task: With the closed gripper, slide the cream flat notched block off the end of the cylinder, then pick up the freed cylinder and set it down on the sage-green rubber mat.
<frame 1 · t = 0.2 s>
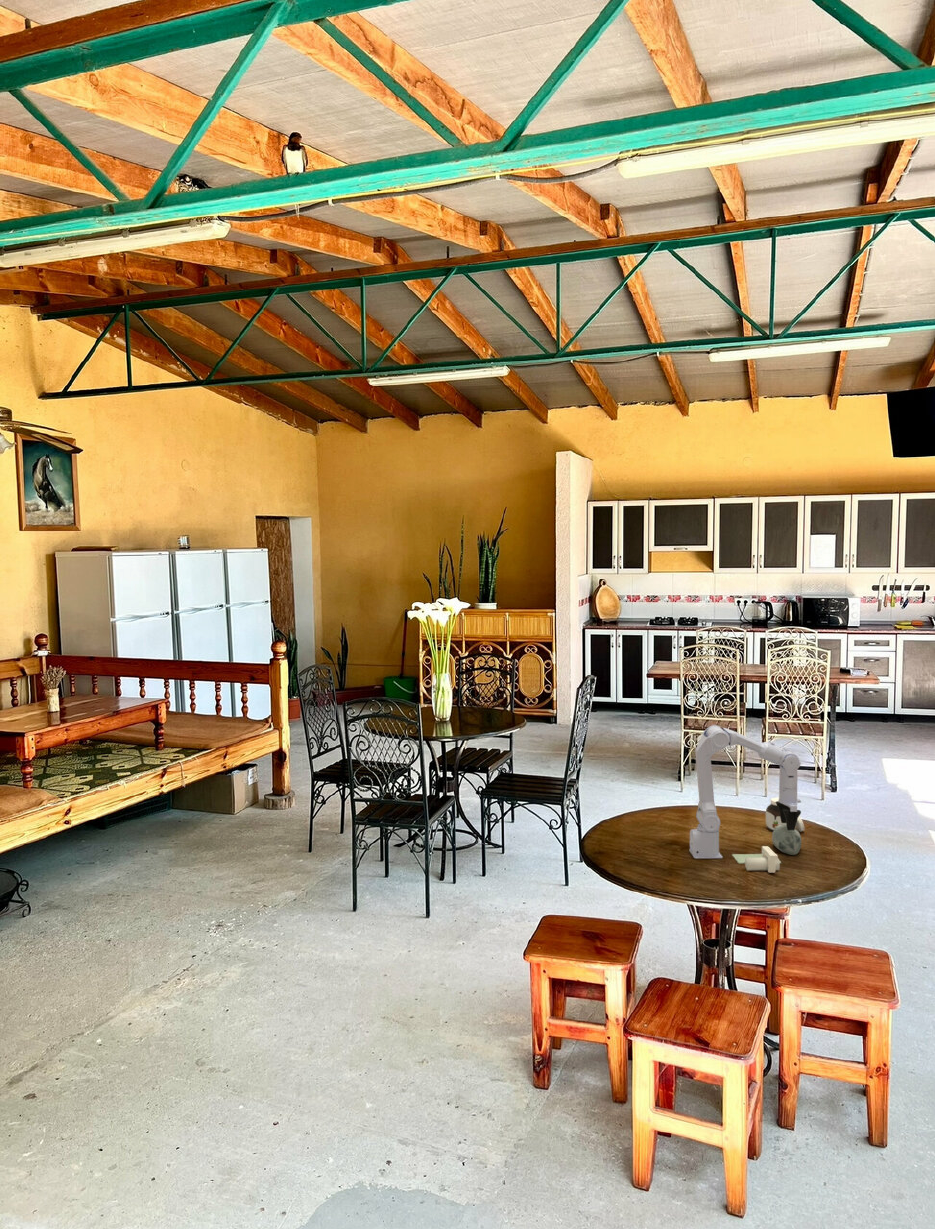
hand: (787, 826, 294), 10 cm above the table, fingers open, 7 cm apart
cream flat notched block: (769, 860, 281), point 3 cm above the table, slide at 0.0 cm
mottled grey-green ovoid: (786, 851, 300), on the table
mat: (756, 859, 292), on the table
spread jar: (785, 831, 321), on the table
cylinder: (762, 870, 282), on the table
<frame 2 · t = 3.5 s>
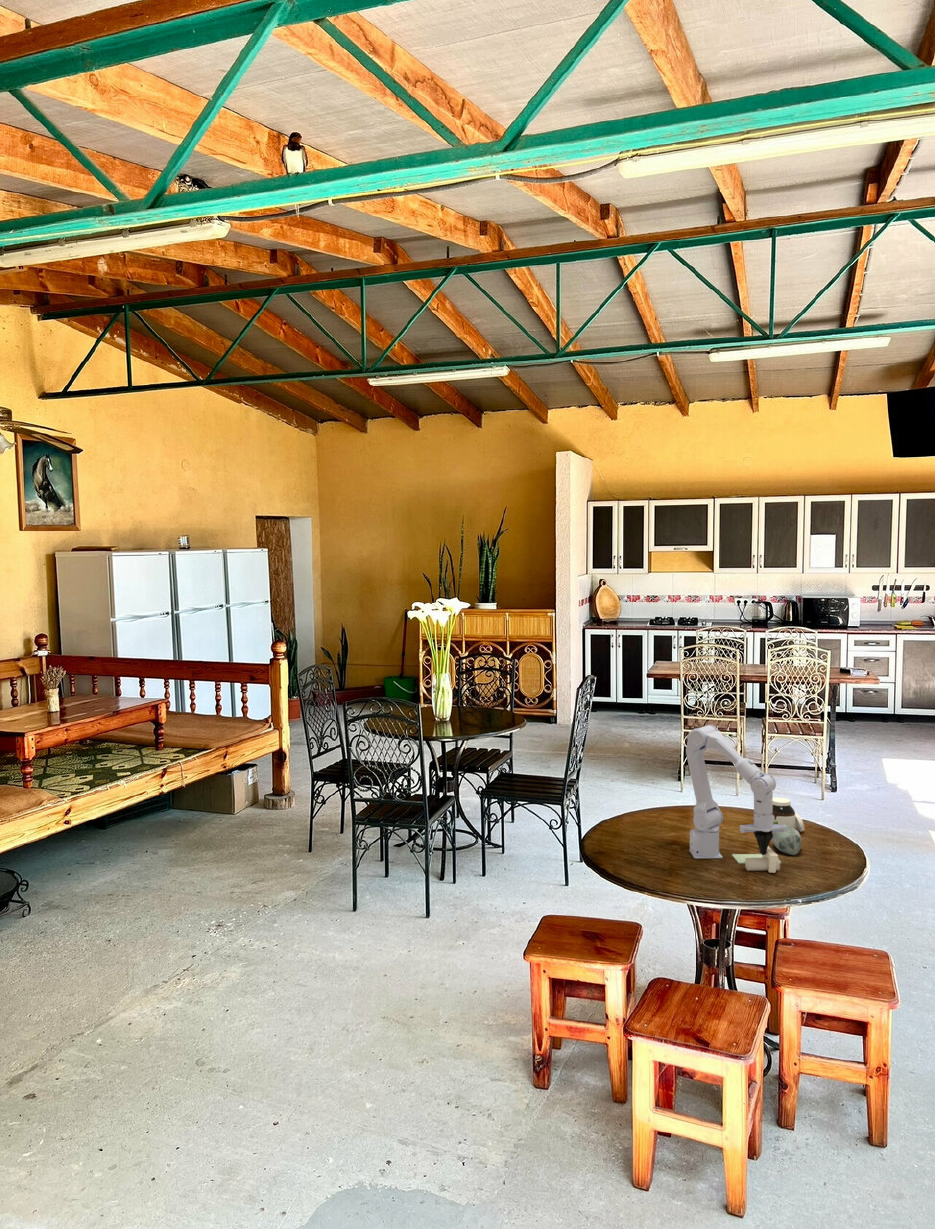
hand: (762, 853, 282), 5 cm above the table, fingers closed
cream flat notched block: (769, 860, 281), point 3 cm above the table, slide at 0.1 cm, touching gripper
everything else where it was.
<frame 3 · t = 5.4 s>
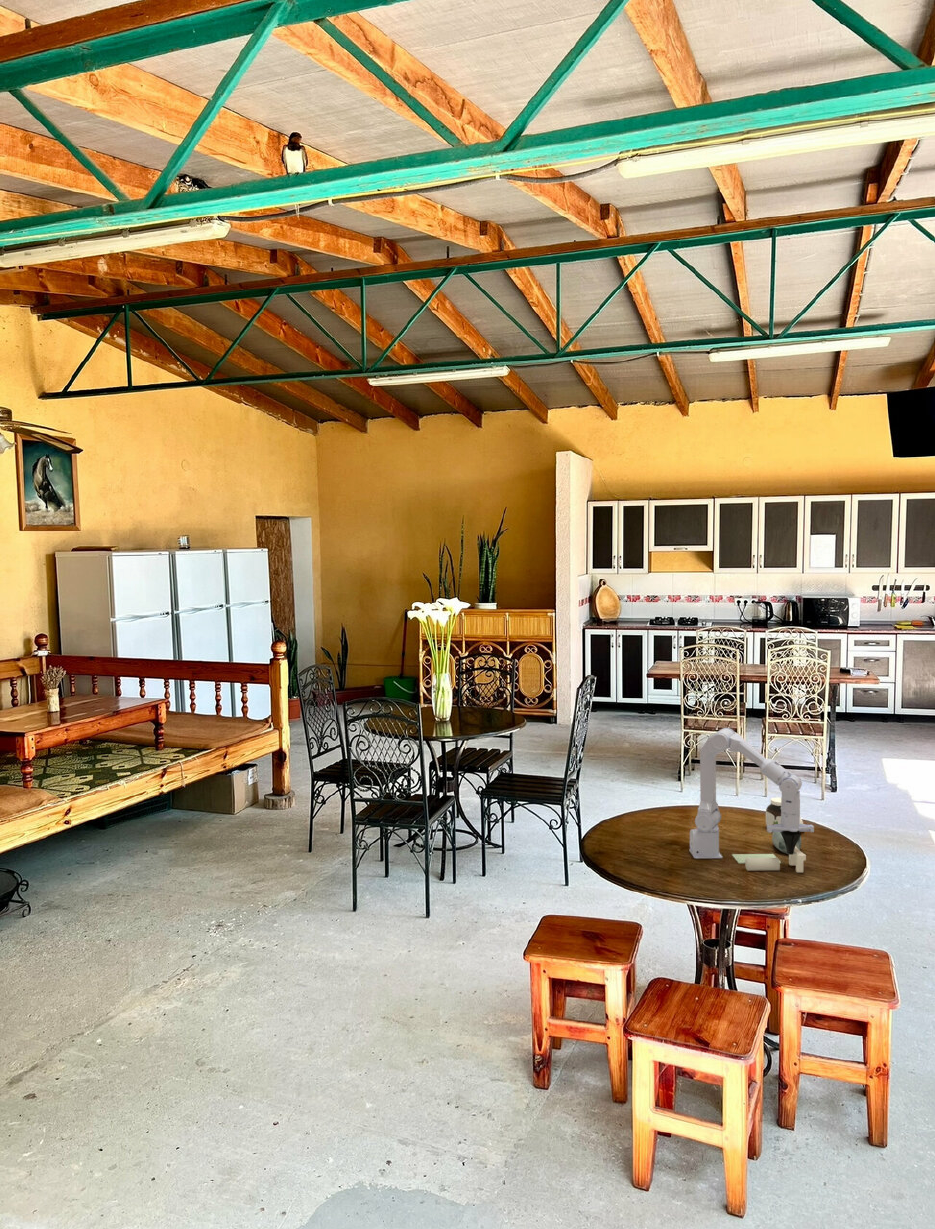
hand: (790, 853, 282), 5 cm above the table, fingers closed
cream flat notched block: (797, 859, 281), point 3 cm above the table, slide at 8.9 cm, touching gripper
everything else where it was.
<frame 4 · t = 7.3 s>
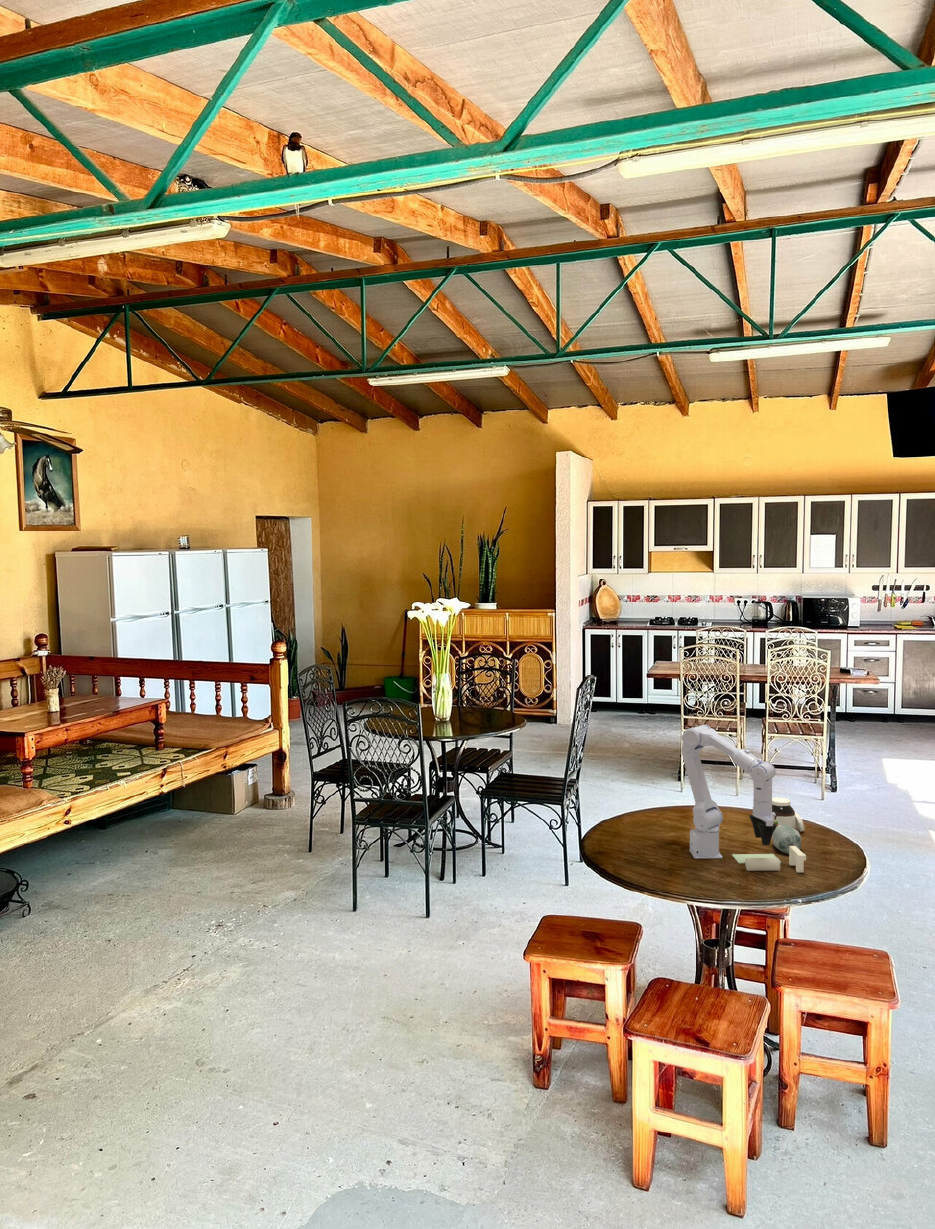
hand: (762, 841, 282), 9 cm above the table, fingers open, 7 cm apart
cream flat notched block: (797, 859, 281), point 3 cm above the table, slide at 9.0 cm
everything else where it was.
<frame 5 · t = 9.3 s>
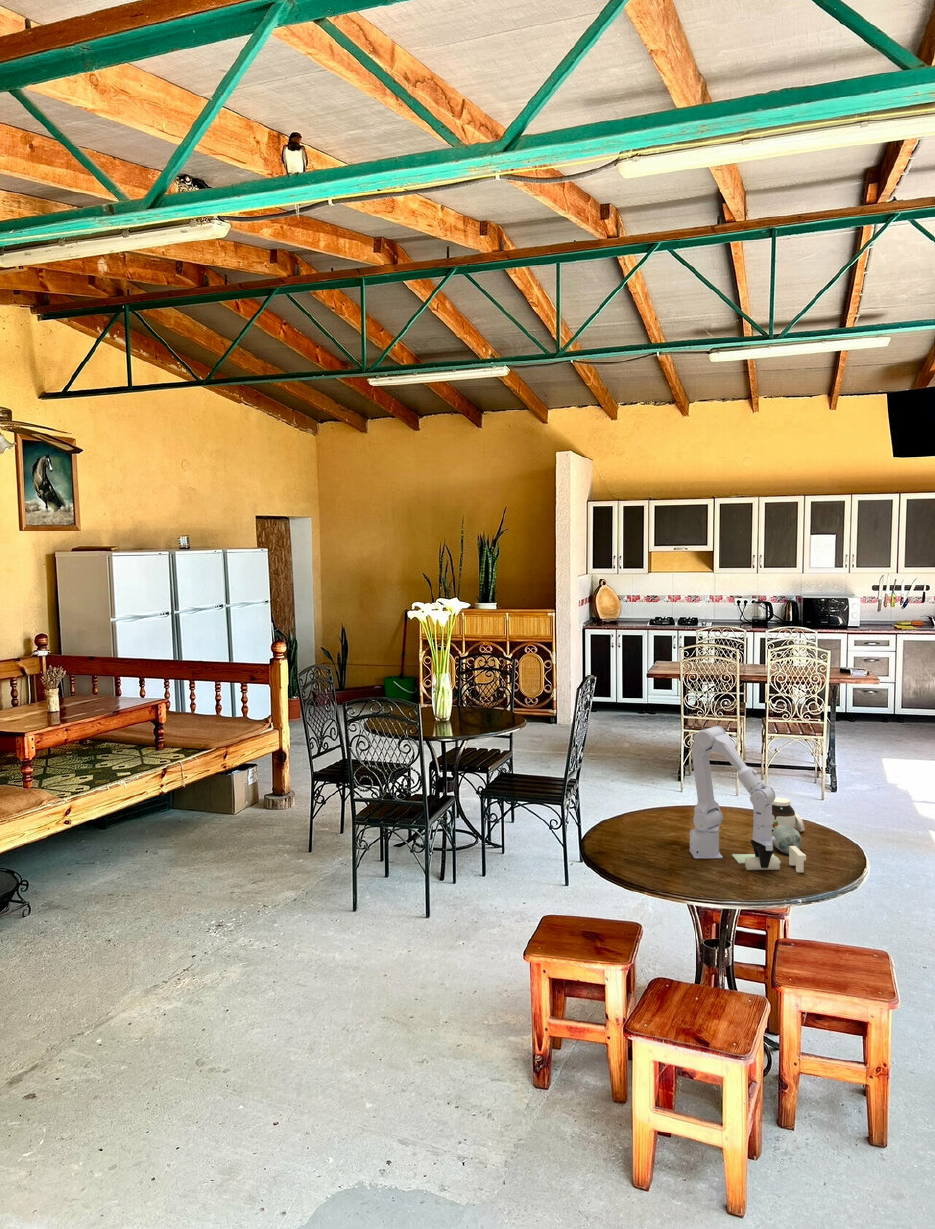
hand: (762, 865, 282), 1 cm above the table, fingers closed on cylinder, 4 cm apart
cylinder: (762, 869, 282), on the table, touching gripper
everything else where it was.
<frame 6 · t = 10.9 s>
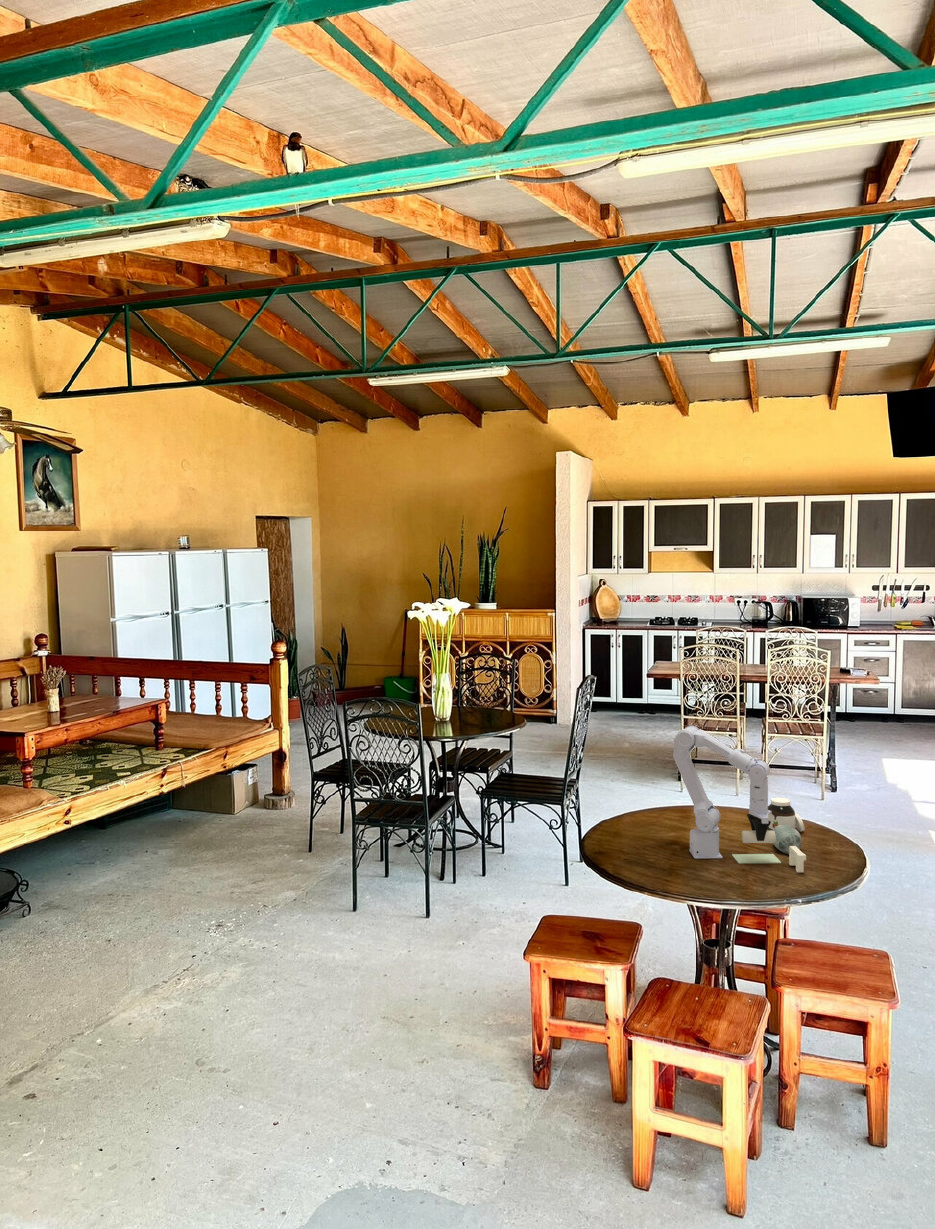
hand: (758, 838, 288), 8 cm above the table, fingers closed on cylinder, 4 cm apart
cylinder: (758, 842, 288), point 7 cm above the table, touching gripper
everything else where it was.
when the fingers open (3 cm above the table, at t = 12.7 s): cylinder drops 1 cm, resting on mat.
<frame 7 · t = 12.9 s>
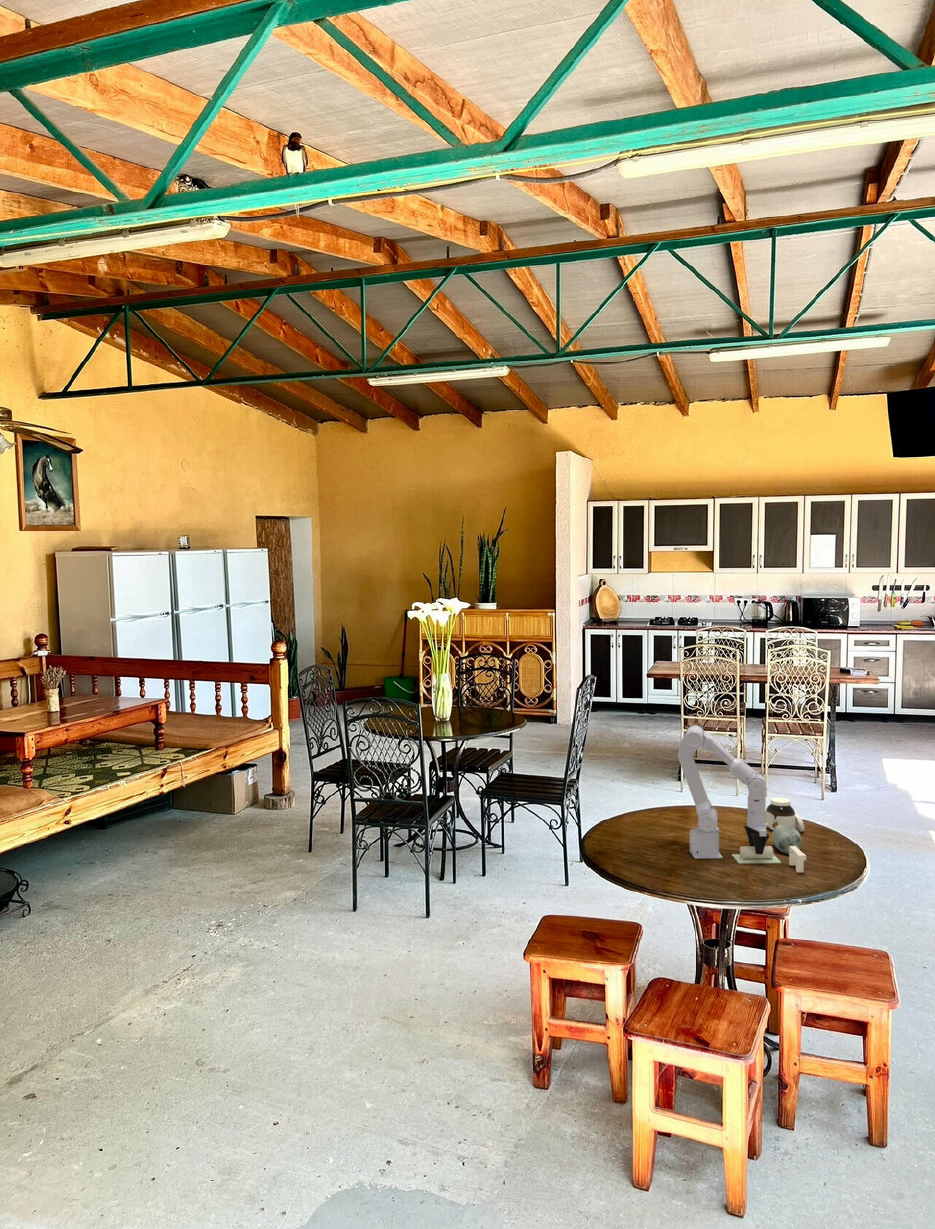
hand: (756, 850, 292), 3 cm above the table, fingers open, 6 cm apart
cylinder: (756, 858, 292), resting on mat
everything else where it was.
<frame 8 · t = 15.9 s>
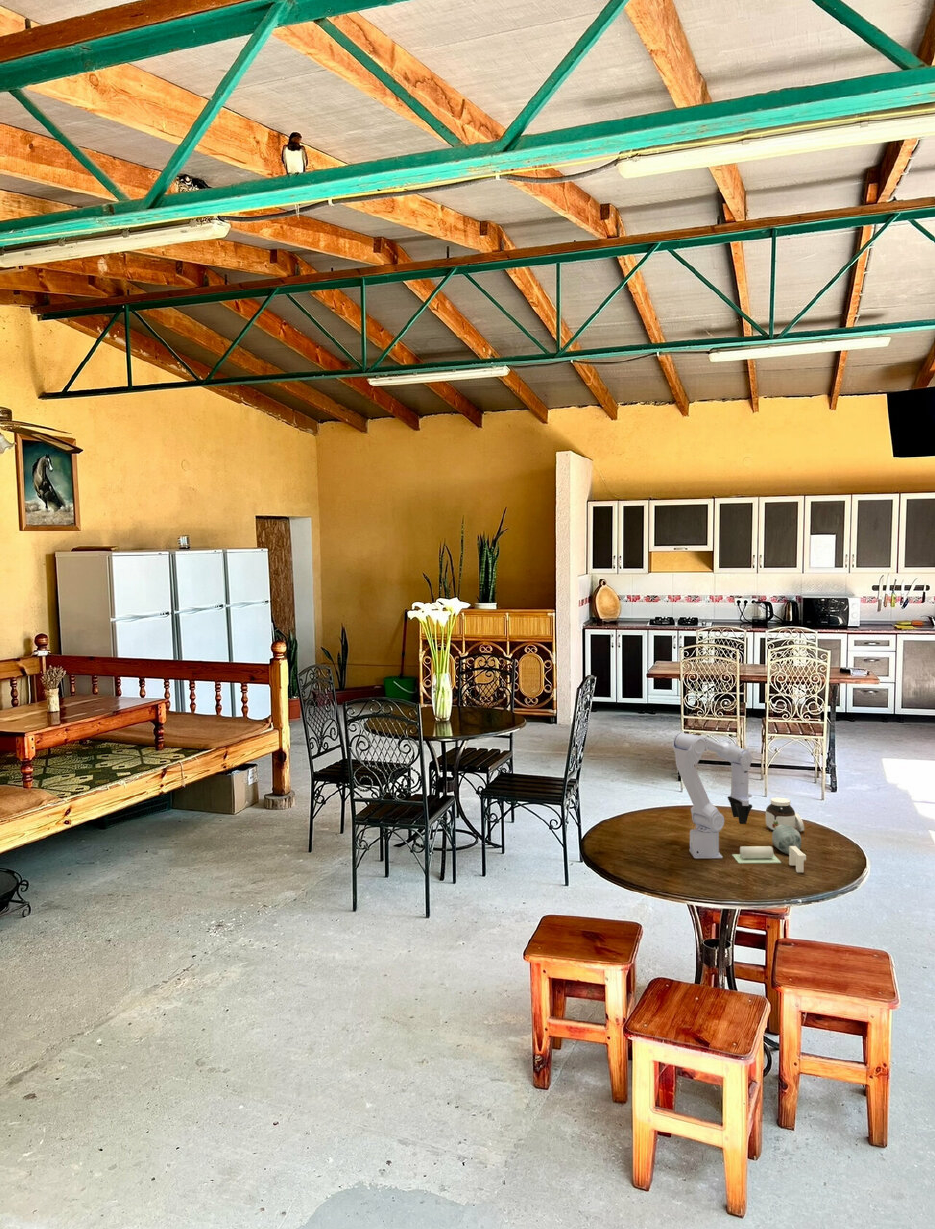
hand: (739, 820, 304), 9 cm above the table, fingers open, 7 cm apart
nothing on the table moved.
at the end: cream flat notched block slide at 9.0 cm; cylinder inside the target area (0.1 cm from its centre), resting on mat; the gripper is holding nothing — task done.
